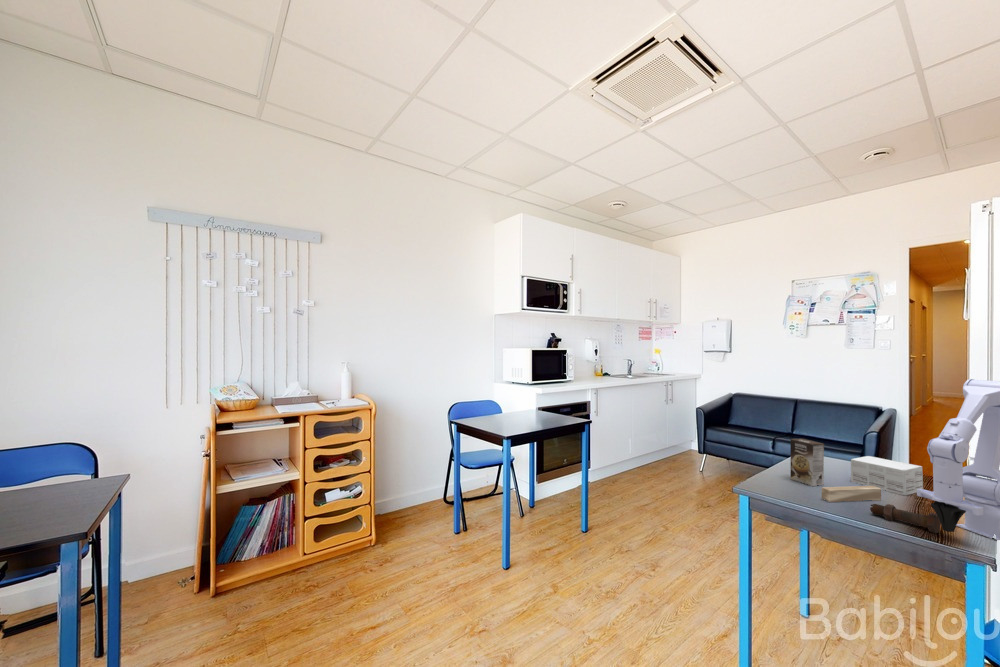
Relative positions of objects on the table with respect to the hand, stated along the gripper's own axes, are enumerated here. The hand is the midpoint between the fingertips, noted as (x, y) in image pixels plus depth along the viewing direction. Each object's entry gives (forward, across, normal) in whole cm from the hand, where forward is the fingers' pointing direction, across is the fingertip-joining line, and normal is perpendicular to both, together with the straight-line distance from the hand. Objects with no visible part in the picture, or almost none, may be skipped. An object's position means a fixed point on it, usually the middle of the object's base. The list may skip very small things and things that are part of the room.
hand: (948, 530), depth 118 cm
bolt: (+2, -10, -2) cm, 11 cm away
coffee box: (+2, -47, 0) cm, 47 cm away
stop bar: (+2, -29, 0) cm, 29 cm away
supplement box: (+2, -40, +27) cm, 48 cm away
